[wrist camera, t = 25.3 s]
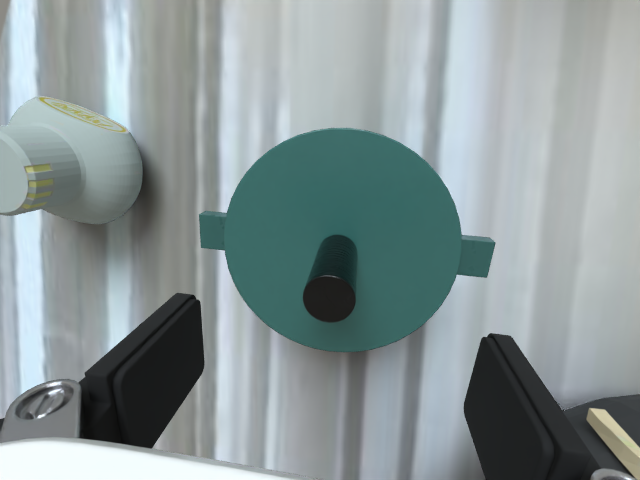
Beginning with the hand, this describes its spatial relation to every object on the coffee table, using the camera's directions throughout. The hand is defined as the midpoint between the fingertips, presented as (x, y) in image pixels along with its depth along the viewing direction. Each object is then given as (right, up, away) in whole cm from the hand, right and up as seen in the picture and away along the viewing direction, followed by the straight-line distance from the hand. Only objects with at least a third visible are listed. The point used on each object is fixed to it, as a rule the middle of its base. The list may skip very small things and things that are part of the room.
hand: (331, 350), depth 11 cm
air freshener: (-21, +11, +20) cm, 31 cm away
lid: (+1, +3, +10) cm, 10 cm away
